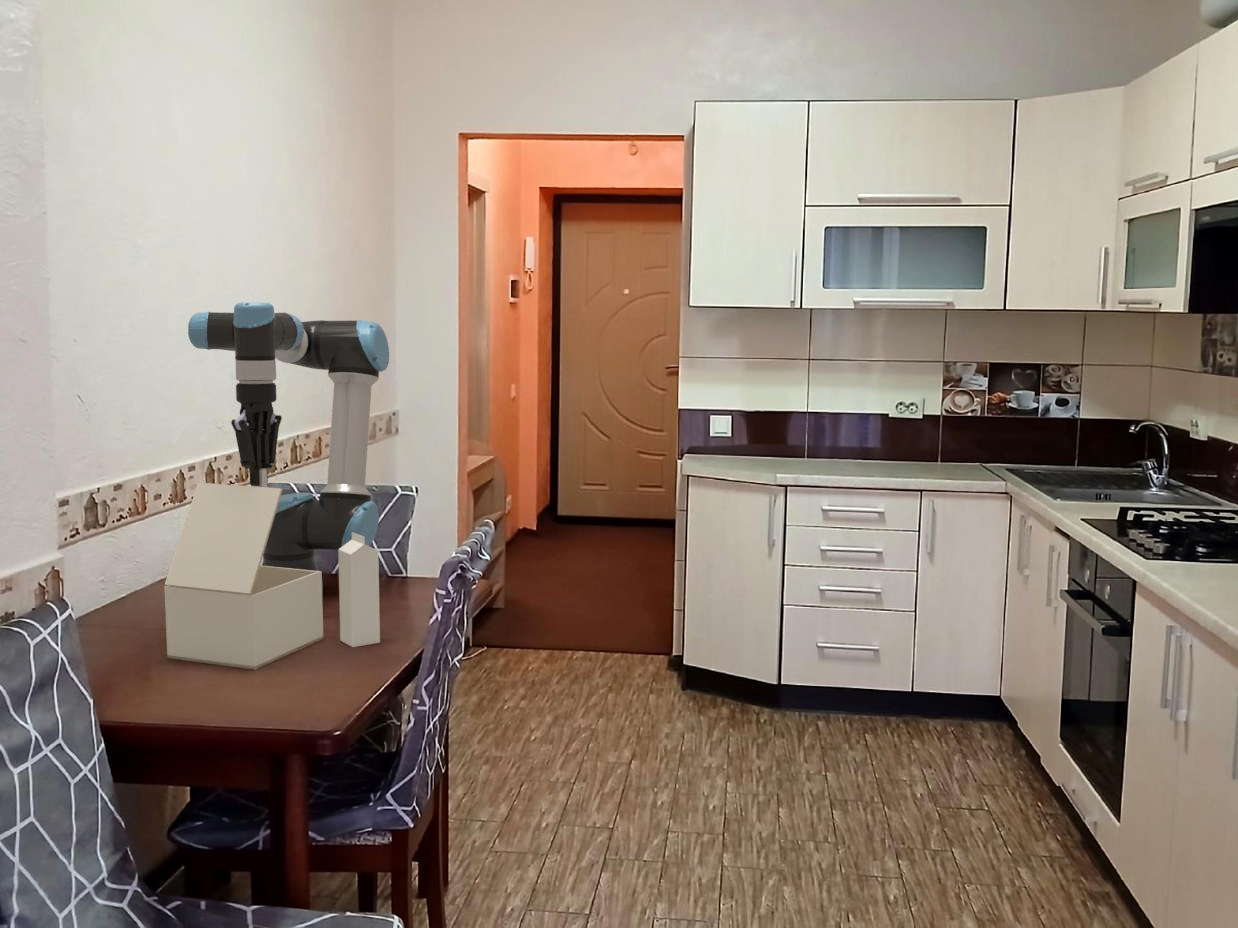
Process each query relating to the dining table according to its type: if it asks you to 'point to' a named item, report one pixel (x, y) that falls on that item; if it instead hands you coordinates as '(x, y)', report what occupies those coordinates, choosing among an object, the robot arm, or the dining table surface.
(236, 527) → the flap
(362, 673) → the dining table surface
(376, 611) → the milk
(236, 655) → the carton
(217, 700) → the dining table surface
